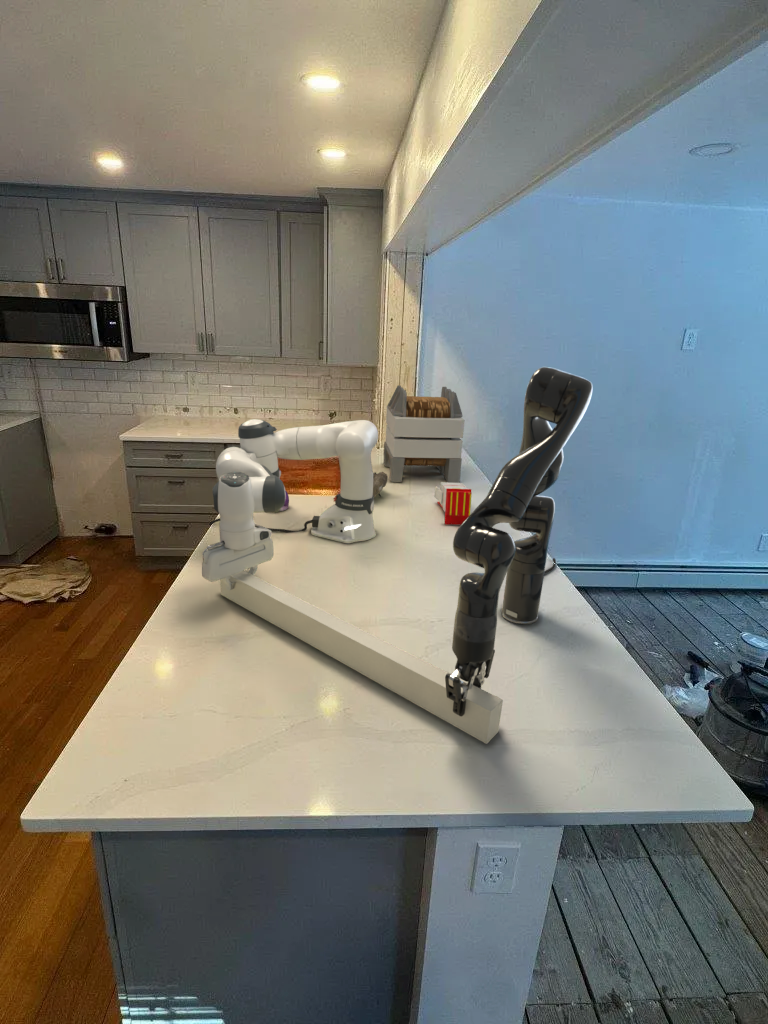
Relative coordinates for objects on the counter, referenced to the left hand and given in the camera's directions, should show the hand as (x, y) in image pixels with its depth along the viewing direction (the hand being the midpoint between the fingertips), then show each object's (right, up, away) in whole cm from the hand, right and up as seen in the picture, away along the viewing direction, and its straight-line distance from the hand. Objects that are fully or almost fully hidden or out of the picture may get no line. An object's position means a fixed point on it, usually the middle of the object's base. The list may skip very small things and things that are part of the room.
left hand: (240, 584), depth 149 cm
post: (+27, -13, -19) cm, 35 cm away
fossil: (+33, +26, +89) cm, 98 cm away
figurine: (-3, +20, +69) cm, 72 cm away
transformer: (+55, +38, +126) cm, 142 cm away
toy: (+64, +19, +74) cm, 100 cm away
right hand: (+54, -18, -41) cm, 70 cm away
